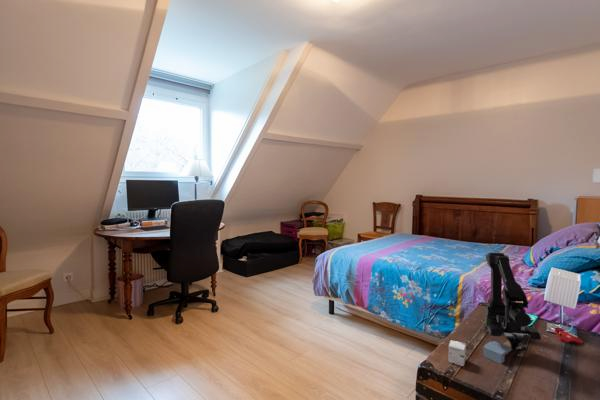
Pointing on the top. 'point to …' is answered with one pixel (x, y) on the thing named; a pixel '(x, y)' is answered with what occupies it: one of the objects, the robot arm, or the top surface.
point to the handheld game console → (532, 319)
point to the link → (509, 346)
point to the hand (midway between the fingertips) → (513, 350)
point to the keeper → (496, 351)
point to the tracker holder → (567, 336)
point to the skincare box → (457, 353)
